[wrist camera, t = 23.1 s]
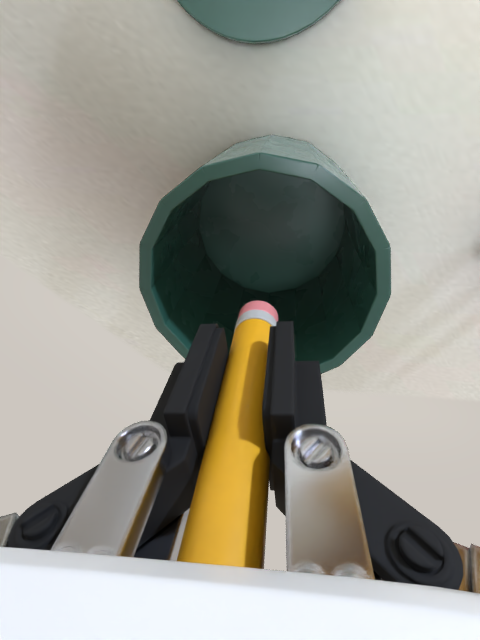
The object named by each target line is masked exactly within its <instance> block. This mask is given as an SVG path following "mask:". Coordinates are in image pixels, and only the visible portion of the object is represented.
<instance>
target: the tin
mask: <svg viewBox="0 0 480 640" xmlns="http://www.w3.org/2000/svg"><path fill="white" fill-rule="evenodd" d="M139 288H140V291H141V294H142V296H143V298H144V301H145V303H146V306H147V308H148V310H149V313H150V315H151V318H152V320H153V322H154V325H155V327H156V329H157V330H158V331H159V332H160V333H161V334H162V335H163V336H164V337H165V338H166V339H167V340H168V342H169V343H170V344H171V345H172V346H173V347H174V348H175V349H176V350H177V351H178V352H179V353H180V354H181V355H182V357H184V358H185V359H186V357H187V354H188V352H189V350H190V347H191V345H192V343H193V340H194V338H195V335H196V333H197V331H198V328H199V326H200V324H218V326H219V328H224V330H225V336H226V342H227V348H228V354H229V352H230V348H231V344H232V340H233V336H234V330H235V326H236V322H237V320H238V316H239V312H240V310H241V308H242V307H243V306H244V305H245V304H247V303H249V302H251V301H256V300H259V301H264V302H267V303H269V304H270V305H272V306H273V307H274V308H275V310H276V311H277V314H278V322H280V321H293V324H294V348H295V361H319V364H320V372H321V374H322V373H324V372H327V371H329V370H331V369H334V368H336V367H338V366H340V365H342V364H343V363H344V362H345V361H346V360H347V359H348V358H349V357H350V356H351V355H352V354H353V353H354V352H356V351H357V350H358V349H359V348H360V347H361V346H362V345H363V344H364V343H365V342H366V341H367V340H369V339H370V338H371V336H372V335H373V333H374V331H375V329H376V326H377V324H378V322H379V320H380V318H381V315H382V313H383V311H384V309H385V307H386V305H387V302H388V300H389V298H390V295H391V248H390V244H389V242H388V240H387V238H386V236H385V234H384V232H383V230H382V228H381V226H380V225H379V223H378V221H377V219H376V217H375V215H374V213H373V211H372V209H371V207H370V205H369V203H368V201H367V200H366V198H365V197H364V196H363V195H362V194H361V192H360V191H359V190H358V189H357V188H356V187H355V185H354V184H353V183H352V182H351V181H350V179H349V178H348V177H347V176H346V175H345V174H344V172H343V171H342V170H341V169H340V168H339V167H338V165H337V164H336V163H335V162H334V161H332V160H331V159H330V158H328V157H327V156H326V155H324V154H323V153H322V152H321V151H319V150H318V149H316V148H315V147H314V146H312V145H311V144H310V143H308V142H306V141H301V140H296V139H293V138H289V137H281V136H276V135H268V136H264V137H260V138H254V139H251V140H248V141H244V142H240V143H237V144H235V145H233V146H232V147H230V148H229V149H227V150H226V151H224V152H223V153H221V154H220V155H218V156H216V157H215V158H213V159H212V160H210V161H209V162H207V163H206V164H204V165H203V166H201V167H200V168H199V169H197V170H196V171H195V172H194V173H193V174H191V175H190V176H189V177H188V178H186V179H185V180H184V181H183V182H181V183H180V184H179V185H178V186H177V187H175V188H174V189H173V190H172V191H170V192H169V193H168V194H167V195H165V196H164V197H163V198H162V199H161V200H160V201H159V203H158V205H157V208H156V210H155V212H154V214H153V216H152V218H151V220H150V222H149V225H148V227H147V229H146V231H145V233H144V235H143V237H142V240H141V242H140V262H139Z"/></svg>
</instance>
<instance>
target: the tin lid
mask: <svg viewBox="0 0 480 640" xmlns="http://www.w3.org/2000/svg"><path fill="white" fill-rule="evenodd" d="M177 1H178V2H179V3H180V5H181V6H182V7H183V8H184V9H185V10H186V11H187V12H188V13H189V14H190V15H191V16H192V17H193V18H194V19H196V20H197V21H198V22H199V23H200V24H202V25H203V26H205V27H206V28H208V29H209V30H211V31H212V32H214V33H216V34H218V35H220V36H223V37H225V38H227V39H231V40H234V41H238V42H243V43H253V44H258V43H271V42H275V41H279V40H284V39H286V38H289V37H291V36H294V35H296V34H298V33H300V32H302V31H304V30H305V29H307V28H309V27H311V26H312V25H314V24H315V23H316V22H318V21H319V20H320V19H321V18H323V17H324V16H325V15H327V14H328V13H329V12H330V11H331V10H332V9H333V8H334V7H335V6H336V5H337V4H338V3H339V2H340V1H341V0H177Z"/></svg>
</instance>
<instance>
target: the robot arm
mask: <svg viewBox="0 0 480 640" xmlns="http://www.w3.org/2000/svg"><path fill="white" fill-rule="evenodd" d="M228 356H229V354H228V348H227V342H226V336H225V330H224V328H219V326H218V324H200V326H199V328H198V331H197V333H196V335H195V338H194V340H193V343H192V345H191V347H190V350H189V352H188V354H187V357H186V359H185V361H184V363H177V364H176V365H175V366H174V368H173V371H172V373H171V375H170V377H169V379H168V382H167V384H166V386H165V388H164V391H163V393H162V395H161V397H160V399H159V401H158V404H157V406H156V408H155V410H154V412H153V415H152V417H151V419H150V421H141V422H138V423H134V424H132V425H130V426H128V427H126V428H125V429H123V430H122V431H121V432H120V433H119V434H118V435H117V436H116V437H115V439H114V440H113V442H112V443H111V445H110V447H109V449H108V450H107V452H106V454H105V456H104V457H103V459H102V461H101V463H100V464H99V465H97V466H96V467H94V468H92V469H90V470H89V471H87V472H85V473H84V474H82V475H81V476H79V477H77V478H75V479H74V480H72V481H70V482H69V483H67V484H65V485H64V486H62V487H61V488H59V489H57V490H56V491H54V492H52V493H50V494H49V495H47V496H45V497H44V498H42V499H41V500H39V501H37V502H36V503H35V504H33V505H32V506H30V507H29V508H28V509H27V510H26V511H25V512H24V513H23V514H22V515H21V516H18V514H17V513H12V514H9V515H6V516H1V517H0V640H480V547H478V546H475V545H473V544H471V546H470V548H467V547H465V546H462V545H460V544H457V543H454V542H452V540H451V539H450V537H449V536H448V535H447V534H446V533H445V532H444V531H442V530H441V529H440V528H439V527H438V526H437V525H435V524H434V523H433V522H432V521H430V520H429V519H428V518H426V517H425V516H424V515H422V514H421V513H420V512H418V511H417V510H416V509H414V508H413V507H412V506H410V505H409V504H408V503H407V502H405V501H404V500H402V499H401V498H400V497H399V496H397V495H396V494H395V493H393V492H392V491H391V490H389V489H388V488H387V487H385V486H384V485H383V484H381V483H380V482H379V481H378V480H376V479H375V478H374V477H372V476H371V475H370V474H368V473H367V472H366V471H364V470H363V469H361V468H360V467H359V466H357V465H356V464H355V463H354V462H352V461H351V460H350V457H349V452H348V447H347V445H346V442H345V440H344V438H343V437H342V436H341V435H340V434H339V433H338V432H337V431H335V430H334V429H332V428H331V427H328V426H327V425H326V416H325V407H324V398H323V390H322V381H321V372H320V364H319V361H295V348H294V324H293V321H280V322H276V326H270V332H269V342H268V352H267V362H266V373H265V383H264V393H263V404H262V422H263V431H264V440H265V448H266V451H267V452H268V454H269V457H270V470H269V482H270V490H274V491H275V500H276V506H277V508H278V509H279V510H280V511H281V512H282V513H283V514H284V515H285V516H286V556H287V557H286V558H287V571H278V570H268V569H257V568H247V567H236V566H225V565H213V564H202V563H191V562H180V561H177V557H178V554H179V550H180V546H181V542H182V538H183V534H184V530H185V526H186V522H187V518H188V514H189V510H190V506H191V502H192V498H193V494H194V490H195V486H196V482H197V478H198V474H199V470H200V466H201V463H202V459H203V455H204V451H205V447H206V443H207V439H208V435H209V431H210V427H211V423H212V419H213V415H214V411H215V407H216V403H217V399H218V395H219V391H220V387H221V383H222V379H223V375H224V372H225V368H226V364H227V360H228Z"/></svg>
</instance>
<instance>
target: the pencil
mask: <svg viewBox="0 0 480 640" xmlns="http://www.w3.org/2000/svg"><path fill="white" fill-rule="evenodd" d="M276 322H278V314H277V311H276V310H275V308H274V307H273V306H272V305H270V304H269V303H267V302H264V301H259V300H256V301H251V302H249V303H247V304H245V305H244V306H243V307H242V308H241V310H240V312H239V316H238V320H237V322H236V326H235V330H234V336H233V340H232V344H231V348H230V352H229V356H228V360H227V364H226V368H225V372H224V375H223V379H222V383H221V387H220V391H219V395H218V399H217V403H216V407H215V411H214V415H213V419H212V423H211V427H210V431H209V435H208V439H207V443H206V447H205V451H204V455H203V459H202V463H201V466H200V470H199V474H198V478H197V482H196V486H195V490H194V494H193V498H192V502H191V506H190V510H189V514H188V518H187V522H186V526H185V530H184V534H183V538H182V542H181V546H180V550H179V554H178V557H177V561H180V562H191V563H202V564H213V565H225V566H236V567H247V568H257V569H264V556H265V539H266V522H267V503H268V487H269V470H270V457H269V454H268V452H267V451H266V448H265V440H264V431H263V422H262V404H263V393H264V383H265V373H266V362H267V352H268V342H269V332H270V326H276Z"/></svg>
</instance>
